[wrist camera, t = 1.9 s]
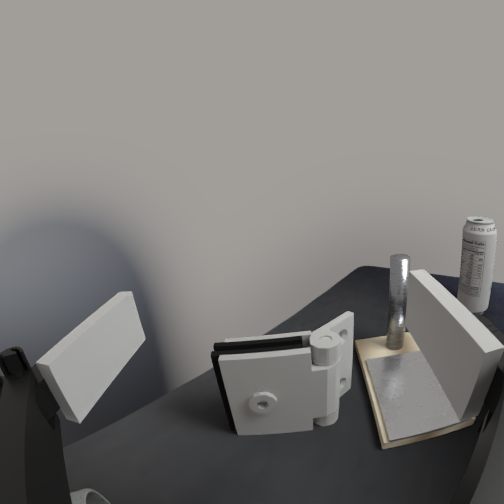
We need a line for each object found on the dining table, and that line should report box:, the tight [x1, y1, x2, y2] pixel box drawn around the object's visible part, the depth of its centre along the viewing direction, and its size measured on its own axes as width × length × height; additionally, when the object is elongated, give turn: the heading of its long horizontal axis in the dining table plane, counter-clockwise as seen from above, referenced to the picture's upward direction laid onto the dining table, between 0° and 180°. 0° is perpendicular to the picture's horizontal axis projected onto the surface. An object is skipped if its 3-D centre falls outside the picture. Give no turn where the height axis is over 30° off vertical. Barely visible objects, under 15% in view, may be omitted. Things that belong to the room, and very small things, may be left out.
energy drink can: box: [457, 216, 497, 315], centre depth 37 cm, size 6×6×15 cm
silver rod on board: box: [366, 254, 473, 442], centre depth 26 cm, size 9×17×12 cm, turn 173°
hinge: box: [211, 311, 354, 435], centre depth 26 cm, size 14×5×10 cm, turn 99°
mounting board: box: [355, 332, 476, 449], centre depth 28 cm, size 10×18×1 cm, turn 173°
